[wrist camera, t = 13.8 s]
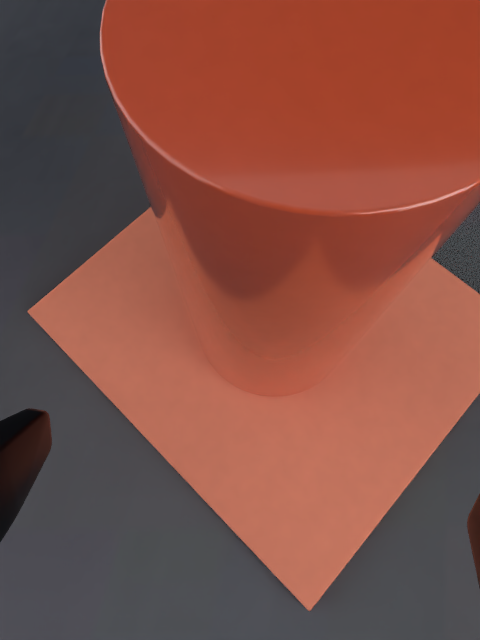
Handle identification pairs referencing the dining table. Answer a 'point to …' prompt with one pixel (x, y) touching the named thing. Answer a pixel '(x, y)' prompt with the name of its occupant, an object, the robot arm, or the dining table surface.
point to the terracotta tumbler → (297, 162)
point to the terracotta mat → (274, 404)
